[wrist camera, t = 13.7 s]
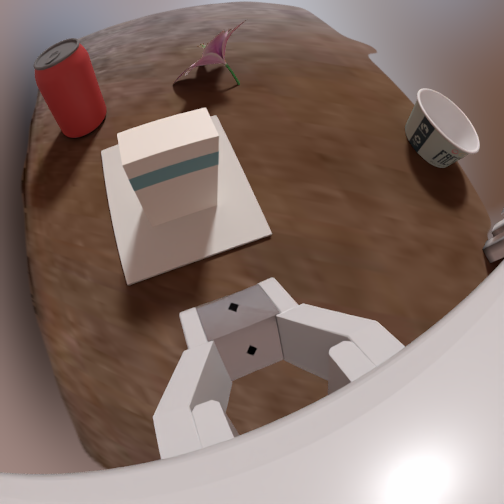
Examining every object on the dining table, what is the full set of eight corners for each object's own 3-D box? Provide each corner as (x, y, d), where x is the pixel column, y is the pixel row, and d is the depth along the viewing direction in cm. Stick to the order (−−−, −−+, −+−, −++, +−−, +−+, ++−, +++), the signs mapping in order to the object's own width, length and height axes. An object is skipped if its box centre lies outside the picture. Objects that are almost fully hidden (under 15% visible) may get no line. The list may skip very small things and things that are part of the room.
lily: (239, 57, 37) (212, 11, 29) (290, 68, 31) (262, 8, 23) (181, 101, 37) (145, 57, 29) (220, 122, 31) (177, 62, 23)
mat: (271, 235, 27) (271, 233, 27) (128, 285, 24) (127, 284, 23) (216, 117, 31) (216, 115, 30) (102, 153, 28) (101, 151, 27)
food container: (428, 114, 38) (447, 91, 32) (466, 171, 35) (490, 150, 29) (383, 114, 35) (402, 85, 29) (426, 181, 32) (454, 155, 26)
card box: (217, 205, 27) (219, 135, 17) (152, 227, 25) (122, 165, 16) (207, 179, 28) (206, 107, 18) (144, 200, 26) (116, 133, 17)
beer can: (55, 141, 28) (18, 76, 16) (76, 105, 30) (50, 41, 19) (95, 140, 28) (62, 65, 17) (115, 103, 30) (94, 31, 19)
